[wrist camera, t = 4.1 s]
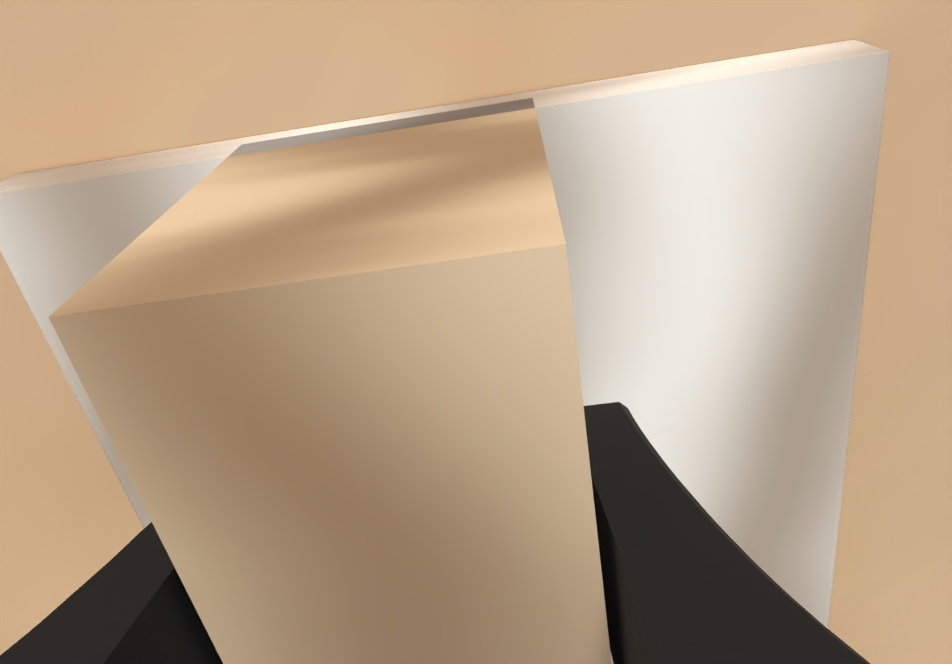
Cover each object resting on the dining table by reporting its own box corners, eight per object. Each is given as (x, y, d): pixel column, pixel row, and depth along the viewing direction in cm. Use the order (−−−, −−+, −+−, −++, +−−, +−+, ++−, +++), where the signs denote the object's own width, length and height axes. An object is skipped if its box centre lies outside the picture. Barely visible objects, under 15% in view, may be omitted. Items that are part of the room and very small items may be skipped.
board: (853, 39, 11) (890, 51, 10) (794, 734, 20) (811, 778, 19) (15, 173, 13) (-28, 197, 12) (300, 769, 21) (290, 813, 20)
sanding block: (533, 97, 10) (566, 244, 5) (585, 539, 13) (630, 835, 9) (241, 144, 10) (47, 316, 6) (373, 561, 14) (319, 854, 10)
